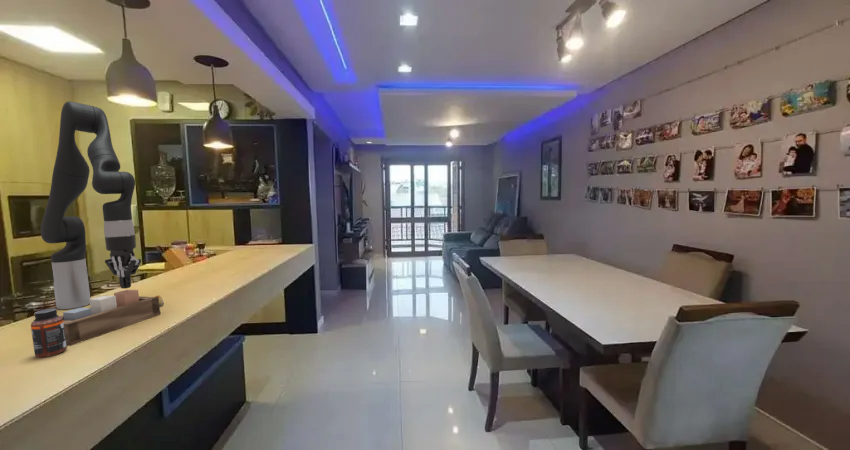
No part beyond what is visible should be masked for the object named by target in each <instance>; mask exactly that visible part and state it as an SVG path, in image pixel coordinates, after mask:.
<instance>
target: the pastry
mask: <svg viewBox="0 0 850 450" xmlns="http://www.w3.org/2000/svg"><path fill="white" fill-rule="evenodd" d="M154 297H159V307H160V308H161V307H164V304H165V303H164V300H163V298H162V296H161V295H155V296H154Z"/></svg>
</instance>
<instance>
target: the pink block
mask: <svg viewBox="0 0 850 450" xmlns="http://www.w3.org/2000/svg"><path fill="white" fill-rule="evenodd" d="M113 296H116V303H117V307H121V306H124V305H128V304H131V303H134V302H138V301H139V296H140V293H139V289H123V290H122V291H118V292H114V293H113Z"/></svg>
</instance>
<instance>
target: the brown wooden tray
mask: <svg viewBox="0 0 850 450" xmlns="http://www.w3.org/2000/svg"><path fill="white" fill-rule="evenodd" d="M89 308H91V307H90V306H89ZM160 308H161V307H159V297H155V296H143V295H141V296H140V295H139V301H138V302H134V303H131V304H128V305H124V306H121V307H117V308H114V309H111V310H107V311H104V312H100V313H97V314H94V315H90V316H87V317H83V318H80V319H77V320H73V321H68V320H64V316H63V314H61V315H60V316H61V317H62V318H63V323H64V331H65V338H66V345H67V346H72V345H76V344H79V343H82V342H84V341H87V340H90V339H93V338H96V337H99V336H101V335H104V334H108V333H110V332H113V331H117V330H120V329H122V328H126V327H128V326H132V325H134V324H136V323H139V322H142V321H145V320H149V319H152V318H154V317H156V316H159V315H161V309H160ZM81 341H82V342H81ZM78 342H79V343H78Z"/></svg>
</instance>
